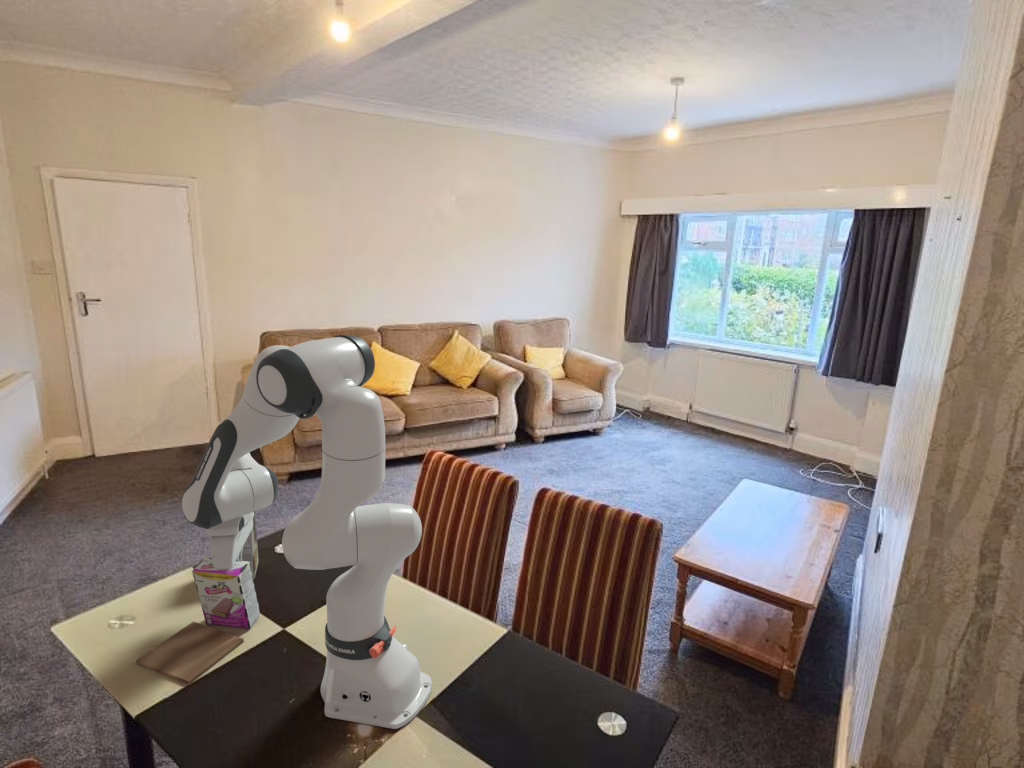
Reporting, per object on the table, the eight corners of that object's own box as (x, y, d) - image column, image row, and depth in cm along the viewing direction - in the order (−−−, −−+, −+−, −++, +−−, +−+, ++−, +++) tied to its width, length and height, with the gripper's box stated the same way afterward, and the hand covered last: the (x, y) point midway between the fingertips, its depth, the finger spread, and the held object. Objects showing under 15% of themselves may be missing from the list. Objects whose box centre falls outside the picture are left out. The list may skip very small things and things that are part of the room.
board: (243, 641, 126) (243, 638, 126) (189, 684, 113) (188, 681, 113) (193, 624, 131) (193, 621, 130) (135, 663, 118) (135, 660, 118)
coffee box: (233, 564, 156) (230, 510, 152) (259, 561, 158) (255, 508, 154) (228, 582, 147) (224, 526, 144) (255, 579, 149) (251, 524, 146)
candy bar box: (204, 626, 130) (190, 571, 124) (217, 609, 135) (203, 555, 128) (250, 630, 129) (238, 575, 123) (261, 614, 134) (250, 559, 127)
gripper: (230, 492, 137) (234, 544, 140) (203, 533, 118) (208, 591, 121) (258, 491, 138) (261, 542, 142) (235, 531, 119) (239, 589, 122)
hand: (236, 565), depth 131 cm, fingers closed
